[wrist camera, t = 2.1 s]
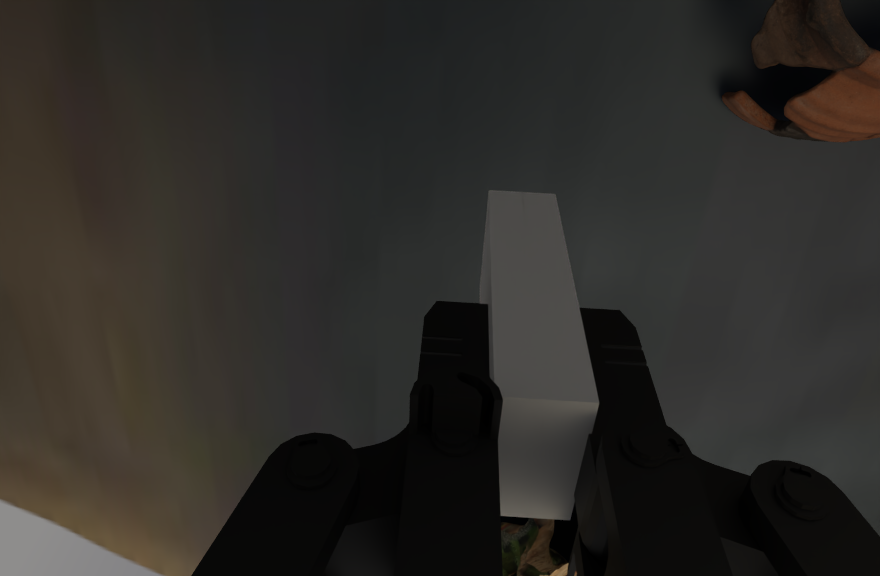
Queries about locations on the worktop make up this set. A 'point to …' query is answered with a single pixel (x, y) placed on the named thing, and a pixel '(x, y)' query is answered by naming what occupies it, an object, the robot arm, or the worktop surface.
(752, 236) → the worktop surface
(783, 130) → the pottery mug
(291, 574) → the robot arm
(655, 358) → the worktop surface
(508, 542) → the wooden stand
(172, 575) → the worktop surface
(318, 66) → the worktop surface
